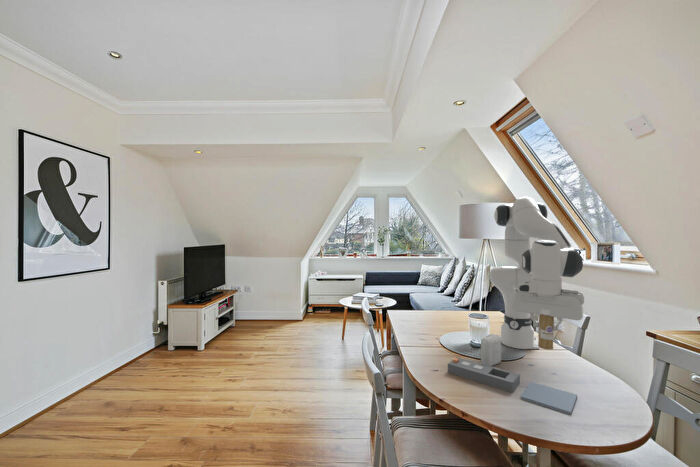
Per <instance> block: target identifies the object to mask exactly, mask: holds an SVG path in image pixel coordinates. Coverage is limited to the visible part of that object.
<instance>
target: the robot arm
mask: <svg viewBox="0 0 700 467" xmlns="http://www.w3.org/2000/svg"><path fill="white" fill-rule="evenodd" d="M493 215H494V216H493V218H494V220H495V223H496V224H497V226H500V227H505V230H504V254H505V256H506V257H507V258H509V259H510V260H513V261H514V262H516V263H518V266H512V265H511V266H510V265H506V266H505V265H501V266H494V267H493V268H491V269H490V271H489V275H488V278H489V281H490V283H491V284H492V286H494V287H496V289H498V290H499V292H500V293H501V295H502V297H503V300H504V315H503V322H504V323H502V324H501V326H500V336H499V337H500V338H501V344H503V345H504V346H507V347H509V348H513V349H520V350H539V349H540V347H539V346H538V340H539V337H535V329H534V328H539V320H537V319H536V317H537V315H538V316H539V315H541V309H547V310H550V316H552V317H554V318H556V320H557V321H558V322H557V323H556V324H555V323H554V325H553V330H554V331H557V332H559V331H560V325H561V323H562V322H563V321H564V319H567V320H573V321H581V320H582V319H583V318H584V309H583V304H584V303H585V296H584V295H583V293H581V292H579V291H578V290H569V289H562V287H563V286H562V284H563V282H562V281H563V280H562V277H564V278H565V277H566V278H573V277H575V276H577V275H578V274H579V273H580V272H581V271H582V270H583V266H584V262H583V258H582V256H581V254H580V253H579V252H578V251H577V249H576V248H574V247H573V246H572V244H571V243H570V242H569V240H568V239H567V237H566V236H565V234H564V233H563V231H562V230H561V229H560V227H559V226H558V225H557V224H556V223H555V222H552V221H550V220H549V219H547V218H548V208H547V206H546V205H545V204H544V203H542V202H536V201H535V200H534V199H533V198H532V197H528V196H523V197H519V198H517V199H516V200H515V201H514V202H513V203H510V204H509V203H508V204H500V205H498V206H497V207H496V208H495V211H494V214H493ZM530 238H534V239H537V240H534V241H533V242H532V245H530V243H531V239H530ZM532 322H533V326H532Z"/></svg>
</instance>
